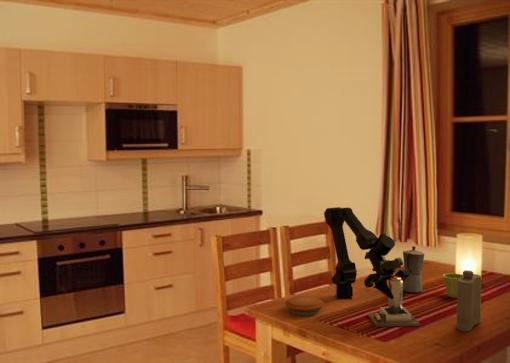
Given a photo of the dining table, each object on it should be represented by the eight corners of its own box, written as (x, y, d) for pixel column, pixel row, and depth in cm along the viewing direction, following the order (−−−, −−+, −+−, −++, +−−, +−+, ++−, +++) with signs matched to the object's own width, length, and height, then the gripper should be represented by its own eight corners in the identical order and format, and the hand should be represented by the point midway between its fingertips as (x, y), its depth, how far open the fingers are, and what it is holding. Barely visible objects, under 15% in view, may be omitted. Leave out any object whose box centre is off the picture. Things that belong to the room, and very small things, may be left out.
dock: (376, 326, 198) (376, 317, 197) (368, 316, 210) (368, 307, 209) (419, 326, 198) (419, 316, 198) (409, 315, 210) (409, 306, 210)
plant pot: (441, 297, 233) (442, 277, 232) (443, 291, 242) (443, 272, 241) (465, 299, 229) (465, 279, 229) (465, 293, 238) (466, 274, 237)
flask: (465, 318, 206) (467, 266, 205) (481, 321, 203) (483, 268, 201) (452, 329, 195) (453, 274, 193) (469, 332, 191) (470, 276, 189)
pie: (302, 303, 227) (302, 291, 227) (331, 311, 216) (331, 299, 215) (276, 311, 216) (276, 299, 216) (306, 321, 205) (306, 308, 205)
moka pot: (426, 288, 248) (427, 244, 246) (419, 296, 234) (420, 251, 232) (405, 285, 252) (406, 242, 250) (397, 294, 238) (398, 249, 237)
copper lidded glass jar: (387, 315, 203) (387, 278, 202) (389, 311, 208) (390, 275, 207) (401, 316, 201) (401, 280, 200) (402, 312, 206) (403, 276, 205)
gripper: (369, 253, 202) (388, 289, 193) (408, 248, 210) (428, 283, 201) (356, 269, 210) (374, 305, 201) (394, 264, 218) (412, 298, 209)
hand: (397, 297), depth 203 cm, fingers closed on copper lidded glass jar, 5 cm apart
